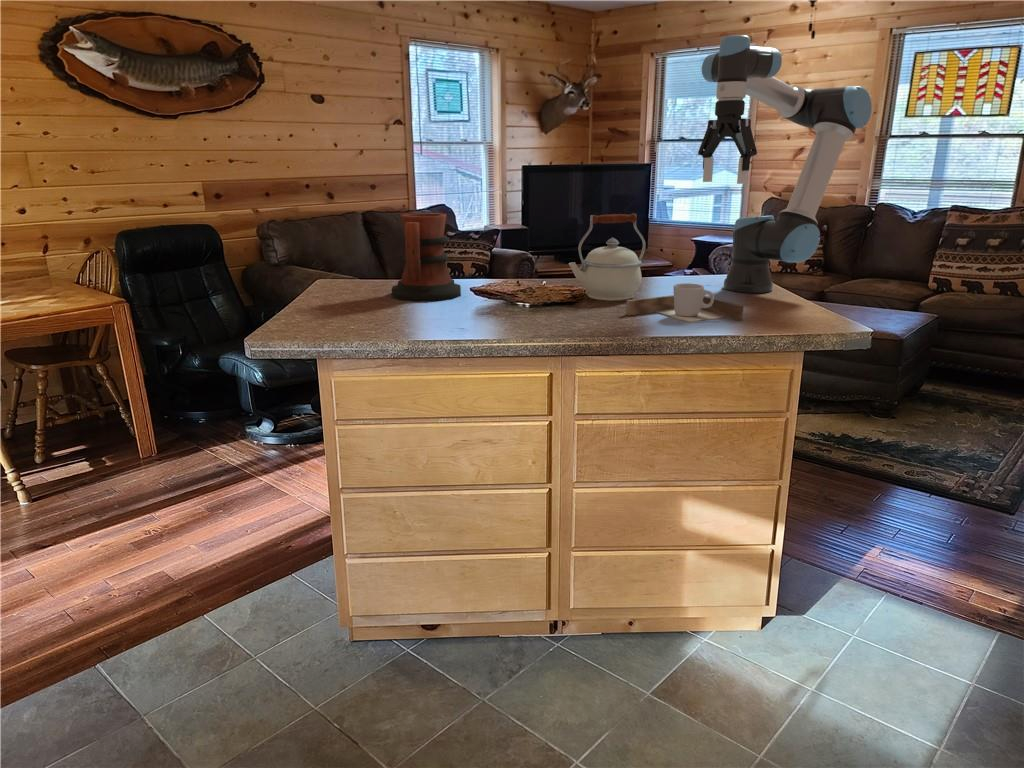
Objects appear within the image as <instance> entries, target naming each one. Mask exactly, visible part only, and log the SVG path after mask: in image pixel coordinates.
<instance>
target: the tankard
mask: <svg viewBox="0 0 1024 768" xmlns="http://www.w3.org/2000/svg"><path fill="white" fill-rule="evenodd" d="M399 218H400V220H401V224H402V225H401V226H402V229H403V234H404V235H403V236H401V242H402V245H404V246H405V253H403V255H402V262H403V263H404V267H403V271H402V275H401V279H400V280H398V281H397V284H396V285H393V286H392V287H391V299H395V300H398V301H404V302H413V303H432V302H433V303H434V302H443V301H450V300H453V299H454V300H455V299H457V298H460V297H461V296H462V293H461V292H462V288H461V284H458V283H455V279H453V278H452V277H451V274H450V272H449V267H448V265H447V263H446V262H449V257H448V253H446V252H444V245H447V244H448V243H447V242H448V241H447V240H448V237H447V235H445V229H446V223H447V213H437V212H436V213H434V212H432V213H431V212H419V213H418V212H417V213H404V214H403V213H402V214H400V217H399Z"/></svg>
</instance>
